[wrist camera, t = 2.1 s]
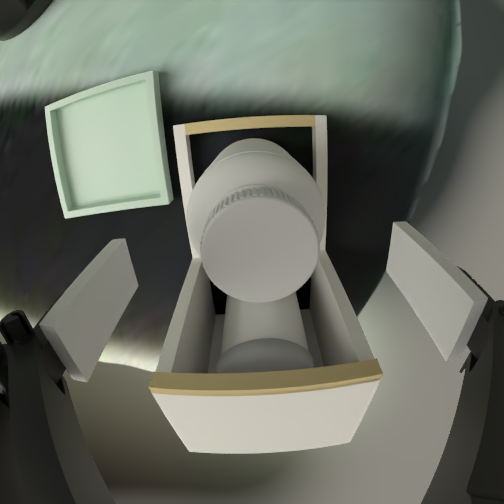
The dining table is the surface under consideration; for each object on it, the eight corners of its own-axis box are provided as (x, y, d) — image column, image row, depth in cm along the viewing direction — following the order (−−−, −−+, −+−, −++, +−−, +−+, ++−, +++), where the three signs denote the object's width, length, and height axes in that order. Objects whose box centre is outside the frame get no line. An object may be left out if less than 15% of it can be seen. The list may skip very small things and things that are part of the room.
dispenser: (177, 125, 23) (65, 152, 8) (322, 115, 23) (434, 127, 8) (208, 321, 33) (189, 451, 18) (316, 314, 33) (349, 442, 18)
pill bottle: (308, 152, 24) (376, 202, 11) (280, 229, 28) (305, 339, 15) (224, 125, 23) (189, 139, 10) (201, 206, 27) (156, 304, 13)
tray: (54, 106, 21) (44, 106, 19) (158, 72, 20) (152, 70, 19) (72, 212, 27) (65, 218, 25) (173, 198, 26) (169, 204, 25)
